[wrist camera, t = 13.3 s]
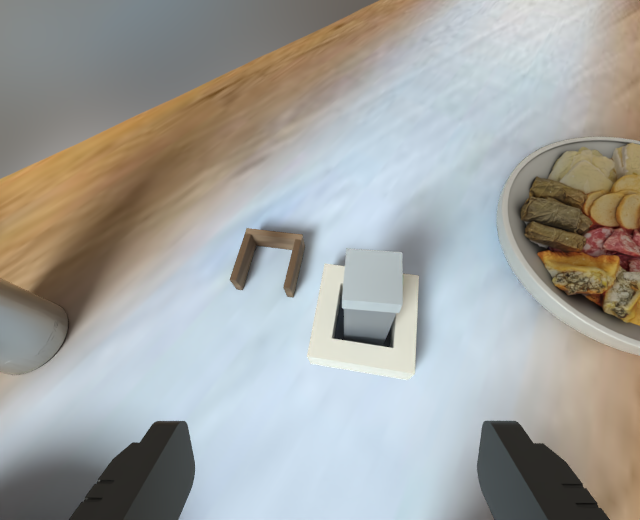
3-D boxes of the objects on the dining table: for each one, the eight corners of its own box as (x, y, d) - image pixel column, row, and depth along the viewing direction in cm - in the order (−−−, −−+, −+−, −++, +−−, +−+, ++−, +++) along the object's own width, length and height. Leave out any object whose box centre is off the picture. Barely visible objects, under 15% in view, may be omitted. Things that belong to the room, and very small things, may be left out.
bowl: (439, 226, 46) (456, 189, 39) (583, 134, 52) (620, 88, 45) (649, 429, 33) (729, 426, 26) (806, 274, 40) (904, 240, 33)
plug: (342, 343, 39) (341, 299, 27) (345, 305, 41) (346, 248, 29) (384, 347, 38) (402, 304, 26) (384, 308, 41) (402, 251, 28)
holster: (236, 289, 43) (229, 279, 41) (252, 240, 47) (246, 228, 44) (293, 297, 42) (289, 288, 39) (304, 246, 46) (302, 234, 43)
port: (310, 363, 38) (306, 354, 34) (326, 277, 43) (324, 261, 39) (408, 380, 37) (415, 373, 33) (412, 289, 42) (419, 273, 38)
